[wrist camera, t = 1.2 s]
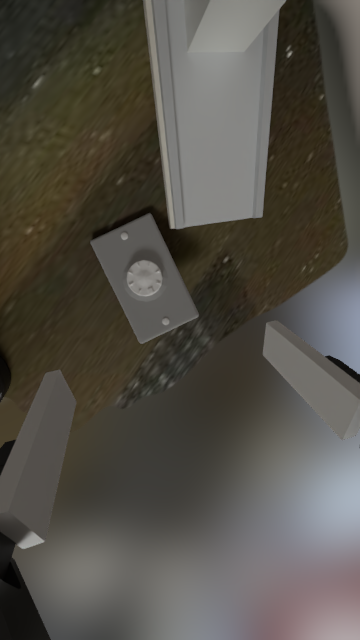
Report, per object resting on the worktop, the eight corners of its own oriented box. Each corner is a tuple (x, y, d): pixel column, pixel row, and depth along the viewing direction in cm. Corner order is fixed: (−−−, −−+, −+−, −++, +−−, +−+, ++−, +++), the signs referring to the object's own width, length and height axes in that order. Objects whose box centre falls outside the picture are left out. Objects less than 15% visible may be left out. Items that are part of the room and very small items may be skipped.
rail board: (169, 227, 29) (190, 238, 20) (139, -32, 19) (154, -240, 10) (256, 215, 31) (310, 220, 22) (274, -26, 21) (386, -194, 12)
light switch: (149, 208, 26) (200, 316, 27) (154, 227, 32) (195, 315, 33) (85, 238, 26) (139, 345, 27) (102, 251, 32) (145, 339, 33)
